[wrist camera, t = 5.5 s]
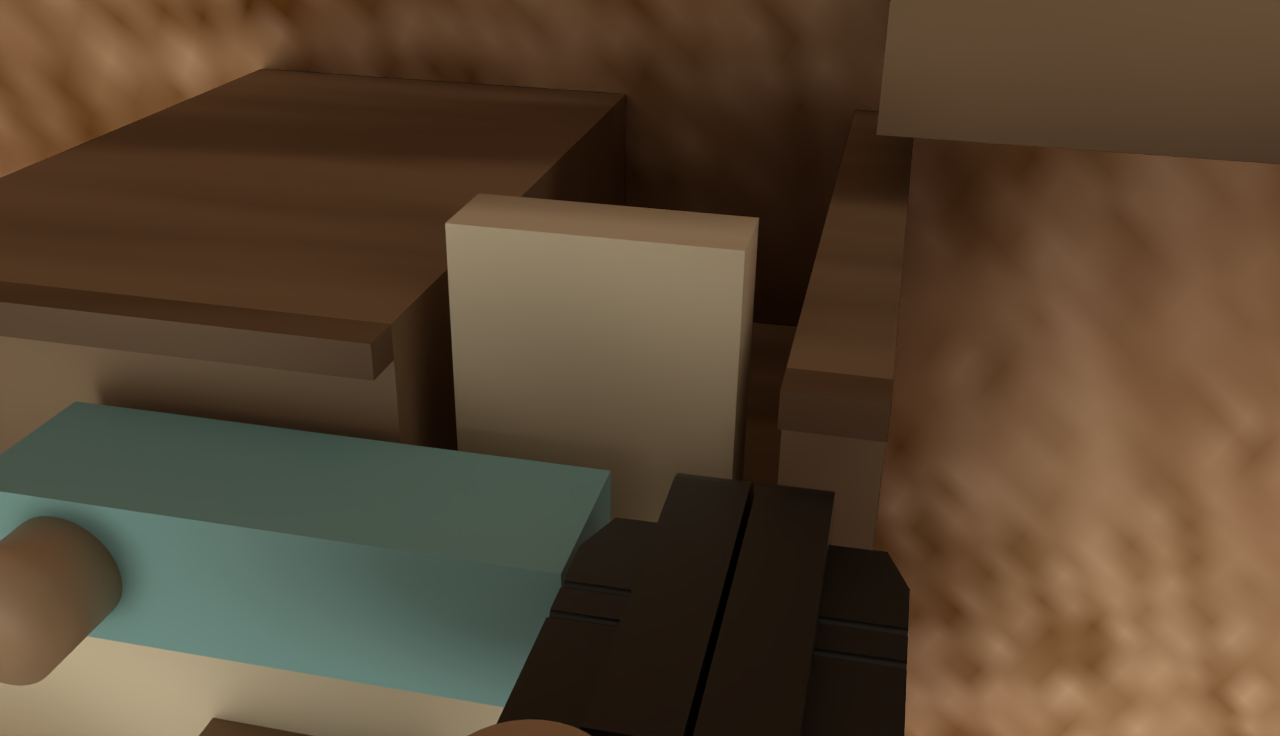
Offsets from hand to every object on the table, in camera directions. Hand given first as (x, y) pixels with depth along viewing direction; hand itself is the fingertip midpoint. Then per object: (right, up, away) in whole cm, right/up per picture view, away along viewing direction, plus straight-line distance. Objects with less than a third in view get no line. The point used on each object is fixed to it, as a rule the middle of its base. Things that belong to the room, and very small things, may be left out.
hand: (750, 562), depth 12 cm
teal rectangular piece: (-4, 0, +1) cm, 5 cm away
